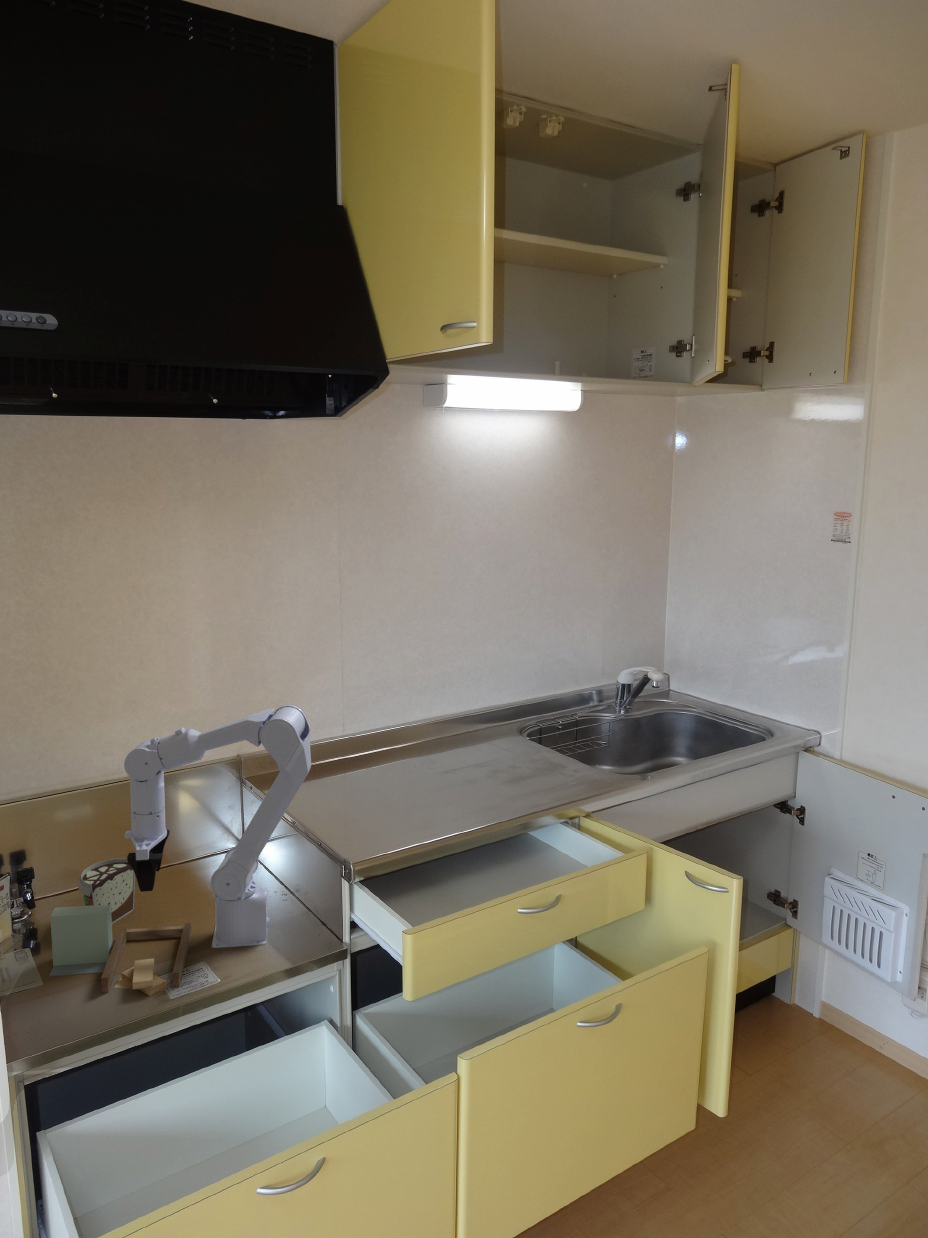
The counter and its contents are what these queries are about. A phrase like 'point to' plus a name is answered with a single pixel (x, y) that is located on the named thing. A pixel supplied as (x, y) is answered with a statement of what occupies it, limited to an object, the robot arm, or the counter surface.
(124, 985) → the offcut bottom
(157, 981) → the offcut middle
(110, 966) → the walnut rack
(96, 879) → the food container
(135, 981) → the offcut top
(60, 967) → the slate mat
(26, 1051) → the counter surface
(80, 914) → the sage panel
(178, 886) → the counter surface
